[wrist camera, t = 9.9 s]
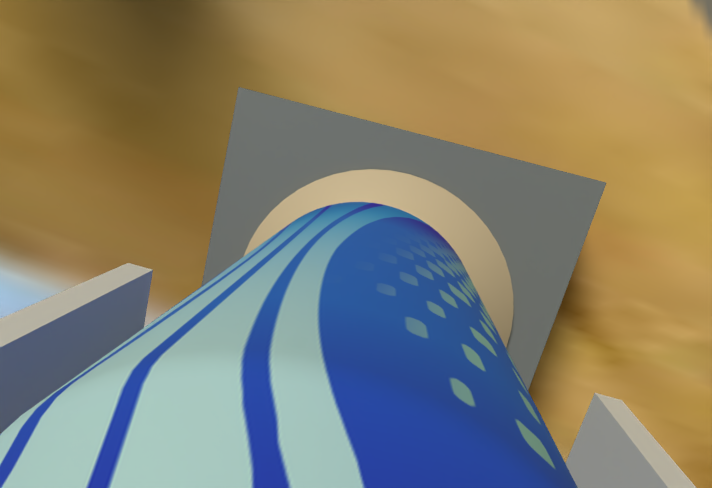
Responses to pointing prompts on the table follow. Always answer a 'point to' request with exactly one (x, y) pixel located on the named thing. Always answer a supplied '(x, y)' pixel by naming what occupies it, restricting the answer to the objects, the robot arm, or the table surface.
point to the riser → (410, 204)
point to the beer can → (303, 378)
